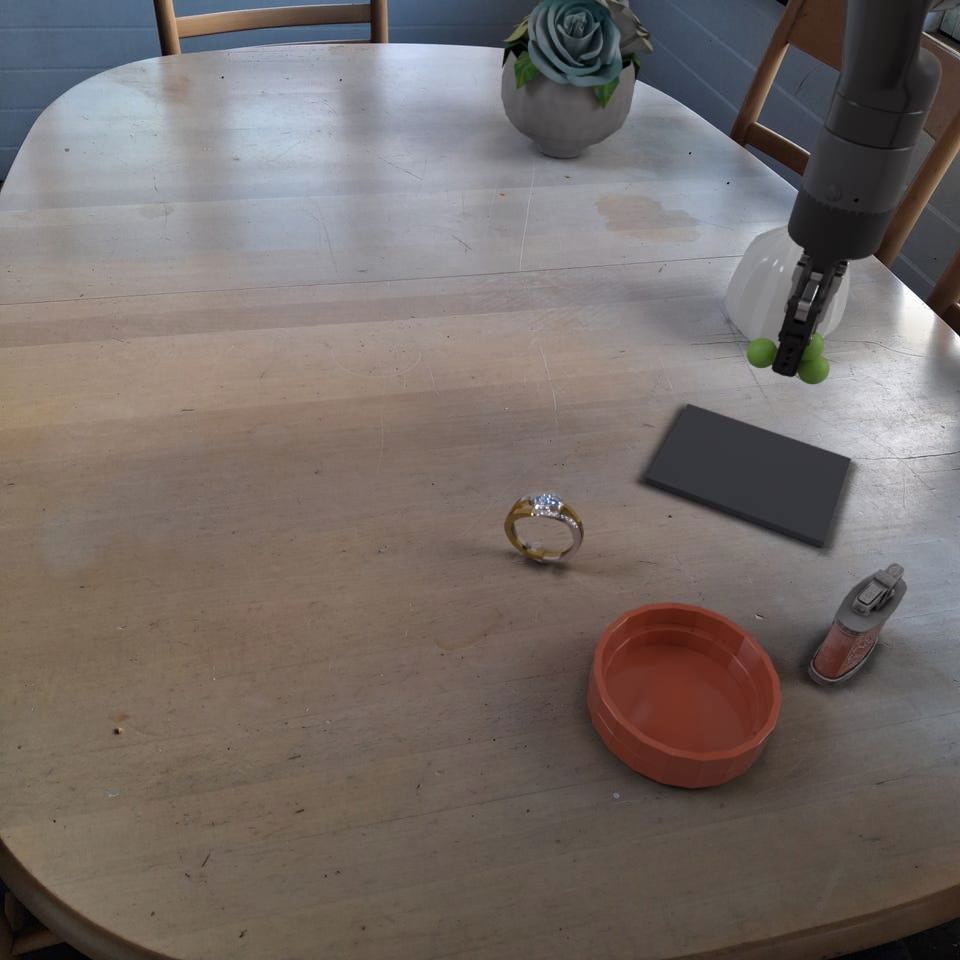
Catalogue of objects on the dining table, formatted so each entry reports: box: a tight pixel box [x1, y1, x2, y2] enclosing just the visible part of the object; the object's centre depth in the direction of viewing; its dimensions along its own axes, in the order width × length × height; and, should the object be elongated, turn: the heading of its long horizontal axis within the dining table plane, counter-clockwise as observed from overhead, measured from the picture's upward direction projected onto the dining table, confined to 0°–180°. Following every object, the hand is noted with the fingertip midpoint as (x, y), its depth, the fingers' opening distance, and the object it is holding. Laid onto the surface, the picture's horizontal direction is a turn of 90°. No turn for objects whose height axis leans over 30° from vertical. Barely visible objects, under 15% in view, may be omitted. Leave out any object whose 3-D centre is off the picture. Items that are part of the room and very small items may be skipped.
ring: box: [503, 490, 585, 565], centre depth 80 cm, size 7×3×8 cm, turn 67°
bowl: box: [586, 601, 783, 789], centre depth 71 cm, size 14×14×4 cm
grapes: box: [746, 324, 831, 385], centre depth 82 cm, size 8×3×6 cm, turn 63°
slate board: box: [644, 403, 852, 549], centre depth 93 cm, size 18×14×1 cm
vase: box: [723, 224, 851, 350], centre depth 109 cm, size 14×14×13 cm
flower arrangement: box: [500, 0, 654, 159], centre depth 142 cm, size 25×25×24 cm
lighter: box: [807, 562, 908, 688], centre depth 73 cm, size 8×3×10 cm, turn 133°
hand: (787, 362), depth 84 cm, fingers closed on grapes, 2 cm apart
